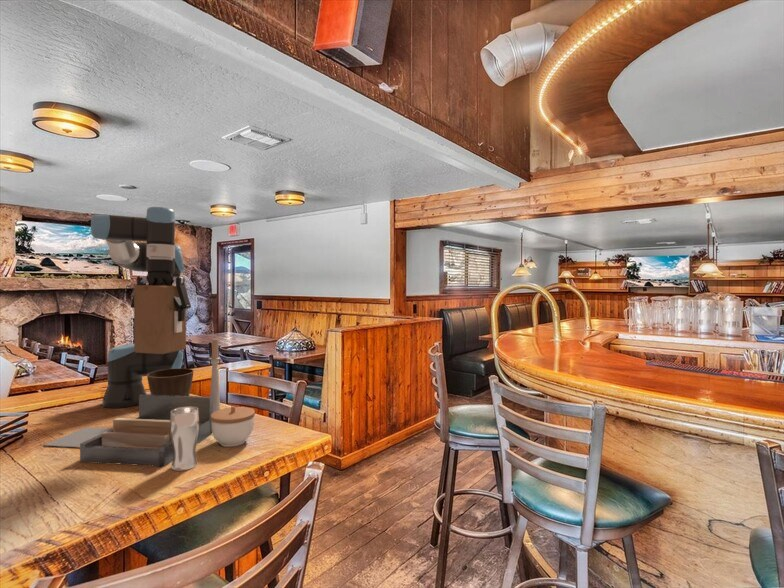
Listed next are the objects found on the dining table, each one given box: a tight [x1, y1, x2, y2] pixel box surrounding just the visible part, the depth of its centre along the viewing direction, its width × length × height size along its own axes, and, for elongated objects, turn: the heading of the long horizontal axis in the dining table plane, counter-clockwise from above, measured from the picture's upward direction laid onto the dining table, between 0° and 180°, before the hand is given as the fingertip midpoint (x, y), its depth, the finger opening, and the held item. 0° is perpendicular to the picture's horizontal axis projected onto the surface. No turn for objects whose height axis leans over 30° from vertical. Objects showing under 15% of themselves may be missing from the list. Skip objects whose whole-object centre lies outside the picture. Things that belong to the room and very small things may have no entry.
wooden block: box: [133, 284, 187, 354], centre depth 124 cm, size 10×10×20 cm
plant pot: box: [146, 367, 195, 396], centre depth 148 cm, size 15×15×16 cm
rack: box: [79, 394, 213, 467], centre depth 120 cm, size 24×24×12 cm
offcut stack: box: [102, 417, 171, 449], centre depth 114 cm, size 8×19×9 cm, turn 85°
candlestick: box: [209, 338, 221, 413], centre depth 141 cm, size 13×13×30 cm
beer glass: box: [170, 406, 199, 472], centre depth 108 cm, size 7×7×15 cm
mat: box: [42, 426, 113, 448], centre depth 127 cm, size 15×15×1 cm
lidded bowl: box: [211, 405, 256, 448], centre depth 125 cm, size 13×13×11 cm
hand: (160, 331), depth 124 cm, fingers closed on wooden block, 10 cm apart
